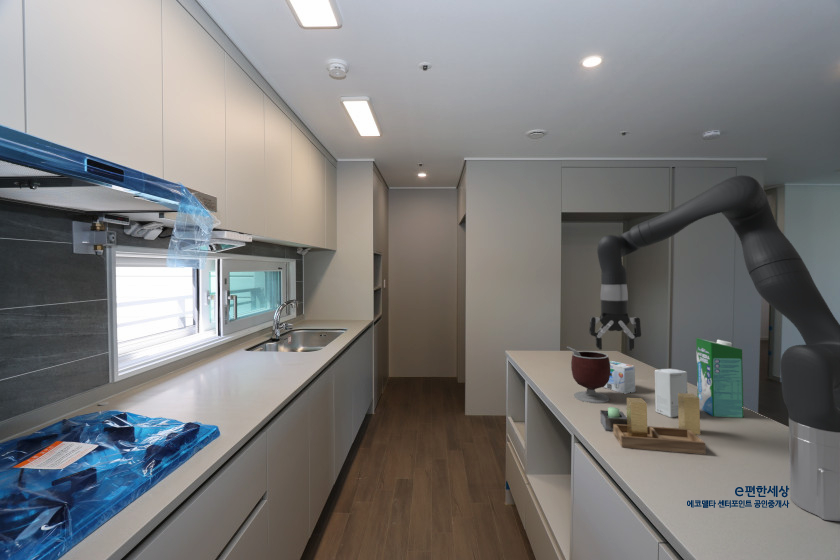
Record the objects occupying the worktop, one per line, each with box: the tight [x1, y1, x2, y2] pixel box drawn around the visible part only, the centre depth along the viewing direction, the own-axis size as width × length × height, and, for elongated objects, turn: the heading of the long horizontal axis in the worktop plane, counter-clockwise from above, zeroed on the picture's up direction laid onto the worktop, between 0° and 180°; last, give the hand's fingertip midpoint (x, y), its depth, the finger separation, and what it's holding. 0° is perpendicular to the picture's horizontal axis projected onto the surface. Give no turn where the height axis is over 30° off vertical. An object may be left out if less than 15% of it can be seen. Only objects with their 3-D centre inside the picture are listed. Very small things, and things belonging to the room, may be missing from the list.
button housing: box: [599, 409, 627, 432], centre depth 113 cm, size 6×6×4 cm
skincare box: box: [654, 368, 689, 418], centre depth 123 cm, size 8×6×15 cm
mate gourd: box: [566, 346, 611, 404], centre depth 141 cm, size 16×14×20 cm
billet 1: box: [626, 397, 648, 438], centre depth 103 cm, size 4×4×11 cm
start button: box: [607, 406, 621, 417], centre depth 113 cm, size 3×3×4 cm
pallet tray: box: [612, 424, 706, 455], centre depth 102 cm, size 9×20×3 cm, turn 75°
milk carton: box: [695, 337, 745, 419], centre depth 123 cm, size 9×9×25 cm
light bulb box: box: [603, 360, 636, 395], centre depth 150 cm, size 11×7×11 cm, turn 25°
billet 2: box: [677, 393, 701, 436], centre depth 109 cm, size 4×4×11 cm
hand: (614, 349), depth 113 cm, fingers open, 8 cm apart
